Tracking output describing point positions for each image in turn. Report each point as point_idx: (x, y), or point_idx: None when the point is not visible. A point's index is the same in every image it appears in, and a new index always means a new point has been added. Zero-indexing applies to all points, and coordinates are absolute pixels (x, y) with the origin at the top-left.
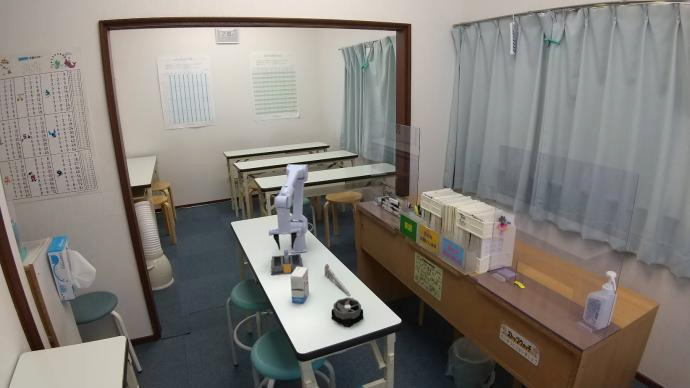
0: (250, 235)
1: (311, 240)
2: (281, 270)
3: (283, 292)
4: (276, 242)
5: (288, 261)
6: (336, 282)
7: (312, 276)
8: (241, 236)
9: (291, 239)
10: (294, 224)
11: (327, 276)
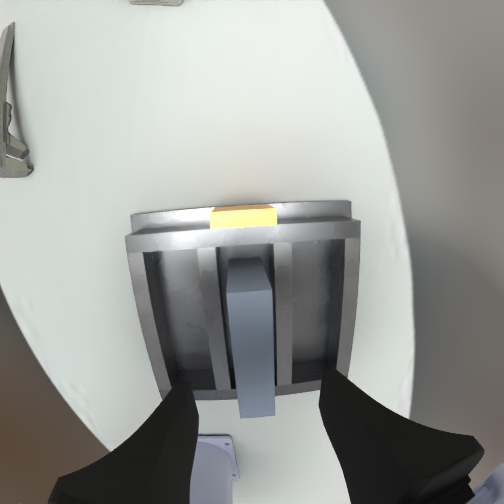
0: None
1: None
2: (285, 220)
3: (260, 5)
4: (405, 418)
5: (231, 277)
6: (6, 73)
7: (86, 156)
8: None
9: (178, 482)
10: None
11: (22, 143)
